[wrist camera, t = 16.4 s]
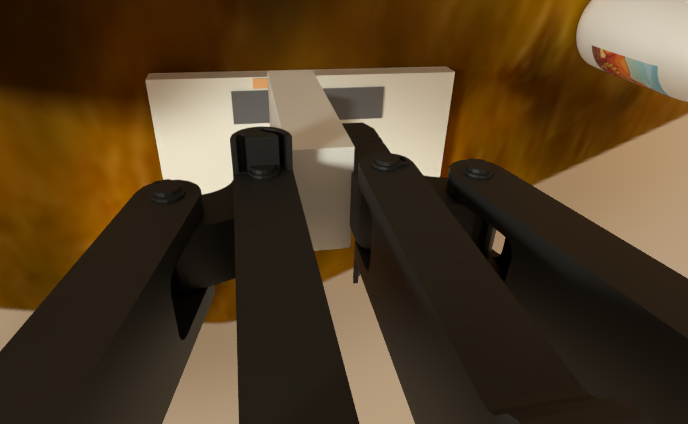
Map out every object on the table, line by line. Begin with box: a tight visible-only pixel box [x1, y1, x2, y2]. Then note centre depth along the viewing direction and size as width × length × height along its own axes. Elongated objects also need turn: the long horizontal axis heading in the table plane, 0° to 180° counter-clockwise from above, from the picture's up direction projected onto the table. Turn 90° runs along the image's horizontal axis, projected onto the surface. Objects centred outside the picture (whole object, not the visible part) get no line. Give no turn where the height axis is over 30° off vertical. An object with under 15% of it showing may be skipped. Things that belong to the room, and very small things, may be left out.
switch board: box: [145, 66, 455, 195], centre depth 45 cm, size 26×12×2 cm, turn 89°
